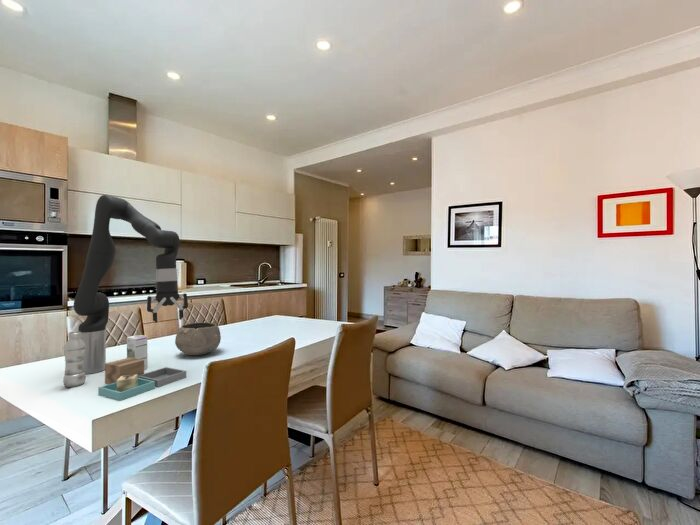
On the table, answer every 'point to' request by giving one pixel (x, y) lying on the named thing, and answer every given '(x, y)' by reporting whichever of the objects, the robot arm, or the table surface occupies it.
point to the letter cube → (127, 382)
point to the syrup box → (138, 348)
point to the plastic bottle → (74, 360)
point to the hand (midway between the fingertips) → (168, 320)
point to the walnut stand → (123, 369)
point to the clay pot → (198, 338)
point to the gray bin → (164, 376)
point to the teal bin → (112, 392)
